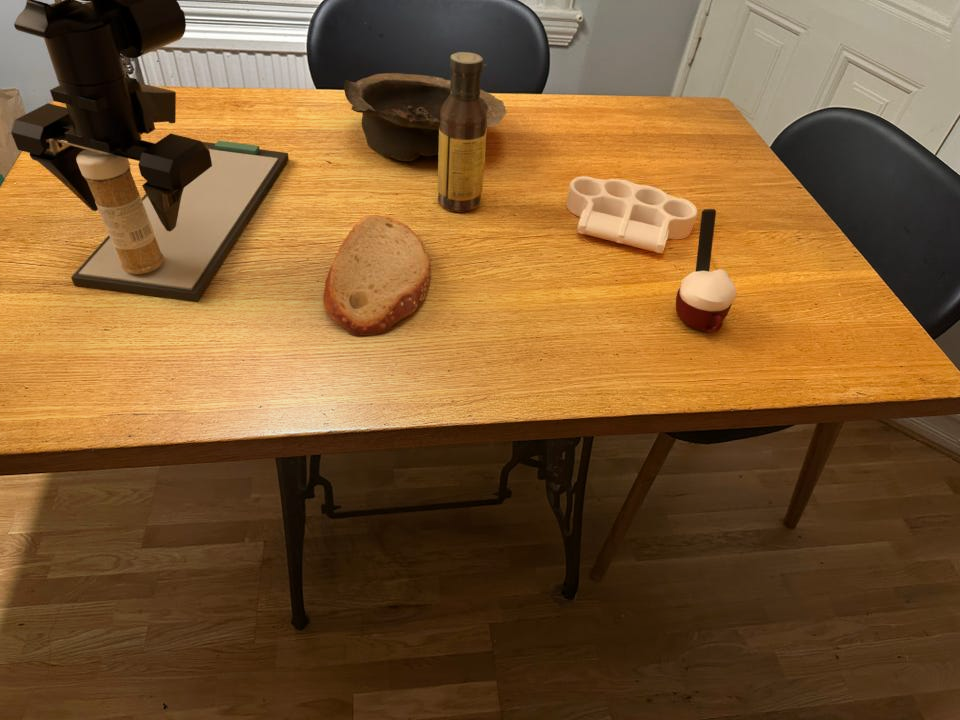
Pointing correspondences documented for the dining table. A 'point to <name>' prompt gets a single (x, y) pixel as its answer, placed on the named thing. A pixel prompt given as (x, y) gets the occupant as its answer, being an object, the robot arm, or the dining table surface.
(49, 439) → the dining table surface
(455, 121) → the sauce bottle
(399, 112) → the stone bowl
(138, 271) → the sprinkles bottle
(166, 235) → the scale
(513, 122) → the dining table surface
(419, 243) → the slice of bread
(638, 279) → the dining table surface
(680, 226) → the knuckle duster
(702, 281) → the cocoa
